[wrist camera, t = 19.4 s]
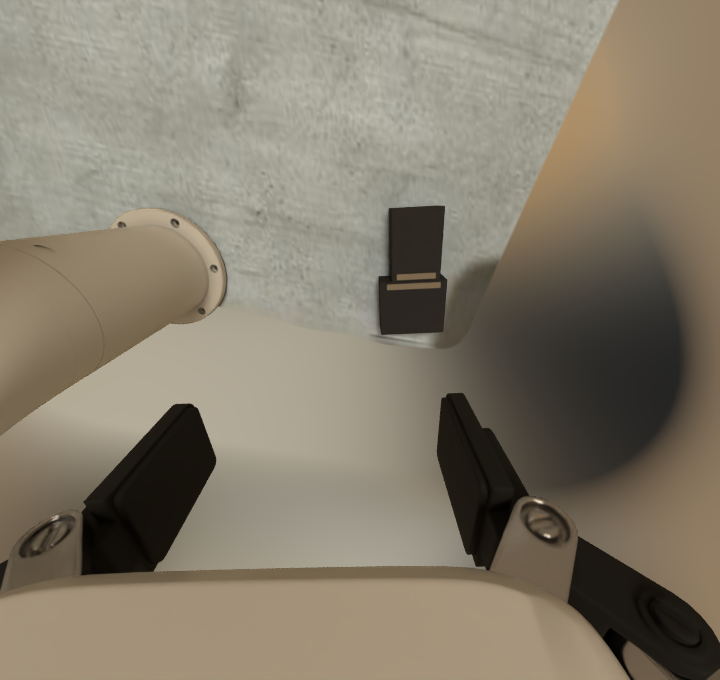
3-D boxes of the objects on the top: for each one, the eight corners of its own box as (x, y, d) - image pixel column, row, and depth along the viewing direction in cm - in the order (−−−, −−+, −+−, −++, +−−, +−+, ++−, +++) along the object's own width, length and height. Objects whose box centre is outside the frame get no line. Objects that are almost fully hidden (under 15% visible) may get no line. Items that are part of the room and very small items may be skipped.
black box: (389, 275, 33) (392, 282, 30) (389, 208, 30) (391, 209, 27) (433, 273, 33) (440, 280, 30) (437, 205, 30) (445, 206, 27)
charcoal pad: (379, 324, 36) (381, 335, 33) (378, 276, 33) (380, 283, 30) (436, 322, 35) (443, 332, 33) (440, 273, 33) (447, 279, 30)
